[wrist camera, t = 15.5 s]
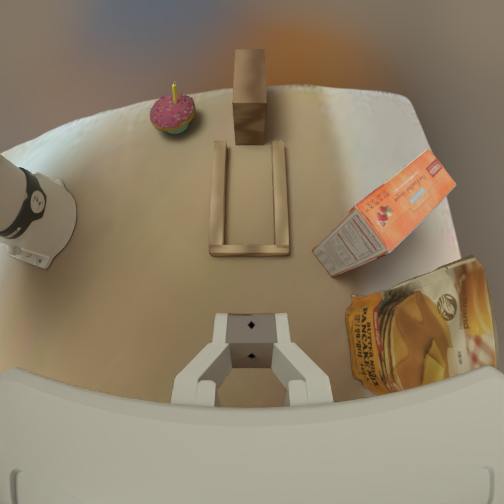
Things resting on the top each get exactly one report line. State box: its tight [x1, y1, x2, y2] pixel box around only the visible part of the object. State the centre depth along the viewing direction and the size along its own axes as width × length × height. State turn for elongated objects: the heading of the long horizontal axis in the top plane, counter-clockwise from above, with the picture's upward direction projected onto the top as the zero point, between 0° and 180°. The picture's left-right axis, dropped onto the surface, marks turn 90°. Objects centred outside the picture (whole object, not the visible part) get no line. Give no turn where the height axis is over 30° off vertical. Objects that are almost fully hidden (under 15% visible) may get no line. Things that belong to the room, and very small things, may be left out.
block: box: [232, 50, 267, 145], centre depth 44 cm, size 5×14×12 cm, turn 0°
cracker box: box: [312, 149, 456, 277], centre depth 35 cm, size 14×6×21 cm, turn 126°
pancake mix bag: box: [345, 254, 499, 395], centre depth 28 cm, size 7×19×28 cm, turn 9°
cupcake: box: [150, 81, 195, 134], centre depth 43 cm, size 9×8×12 cm
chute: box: [209, 141, 289, 256], centre depth 45 cm, size 12×20×2 cm, turn 0°
